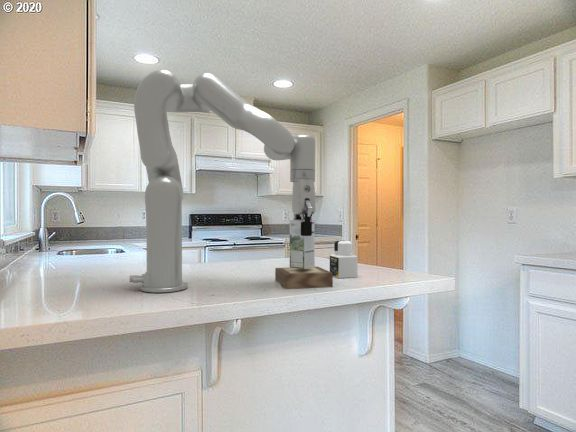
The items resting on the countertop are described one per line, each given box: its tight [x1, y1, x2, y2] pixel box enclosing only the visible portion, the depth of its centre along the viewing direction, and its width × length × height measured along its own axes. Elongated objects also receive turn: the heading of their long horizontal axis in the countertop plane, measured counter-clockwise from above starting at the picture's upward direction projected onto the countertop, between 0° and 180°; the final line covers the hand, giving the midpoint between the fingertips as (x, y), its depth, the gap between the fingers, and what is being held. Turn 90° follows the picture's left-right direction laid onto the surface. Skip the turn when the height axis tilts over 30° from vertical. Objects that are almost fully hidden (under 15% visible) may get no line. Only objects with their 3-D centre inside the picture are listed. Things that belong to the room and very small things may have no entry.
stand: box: [274, 266, 334, 290], centre depth 118 cm, size 14×14×4 cm
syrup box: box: [288, 219, 316, 269], centre depth 118 cm, size 6×6×14 cm
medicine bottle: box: [329, 240, 358, 279], centre depth 131 cm, size 7×7×12 cm
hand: (302, 234), depth 118 cm, fingers closed on syrup box, 8 cm apart
